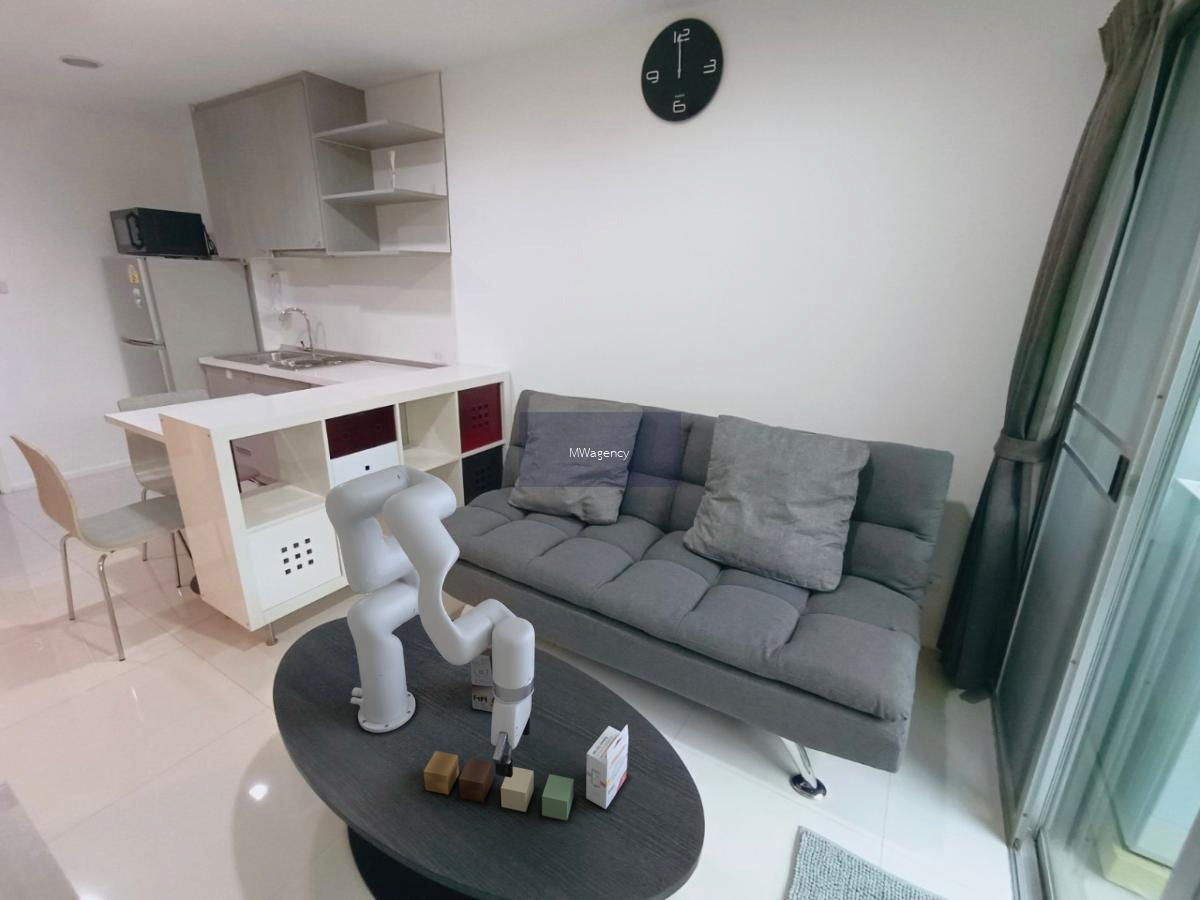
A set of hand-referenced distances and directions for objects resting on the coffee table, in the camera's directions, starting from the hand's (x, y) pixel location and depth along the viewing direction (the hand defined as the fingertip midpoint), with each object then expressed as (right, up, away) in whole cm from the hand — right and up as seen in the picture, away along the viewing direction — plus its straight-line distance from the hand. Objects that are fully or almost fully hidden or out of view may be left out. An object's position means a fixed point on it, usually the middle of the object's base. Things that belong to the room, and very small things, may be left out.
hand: (513, 753), depth 106 cm
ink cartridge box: (+18, -11, +6) cm, 22 cm away
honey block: (-16, -9, +6) cm, 19 cm away
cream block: (0, -11, +3) cm, 11 cm away
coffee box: (-10, -2, +28) cm, 30 cm away
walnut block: (-8, -10, +5) cm, 14 cm away
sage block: (+8, -12, +2) cm, 14 cm away
